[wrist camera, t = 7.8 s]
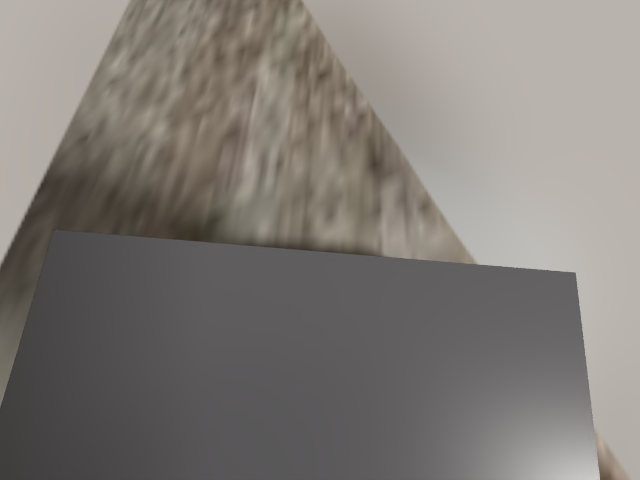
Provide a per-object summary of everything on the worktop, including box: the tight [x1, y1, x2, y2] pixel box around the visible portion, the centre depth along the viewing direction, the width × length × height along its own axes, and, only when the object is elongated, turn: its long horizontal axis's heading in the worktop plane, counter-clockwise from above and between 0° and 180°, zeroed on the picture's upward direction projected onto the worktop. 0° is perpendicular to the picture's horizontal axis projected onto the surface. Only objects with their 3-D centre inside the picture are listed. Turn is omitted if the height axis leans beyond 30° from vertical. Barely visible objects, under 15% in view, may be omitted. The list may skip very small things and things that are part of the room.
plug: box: [0, 230, 600, 480], centre depth 8 cm, size 5×5×13 cm
